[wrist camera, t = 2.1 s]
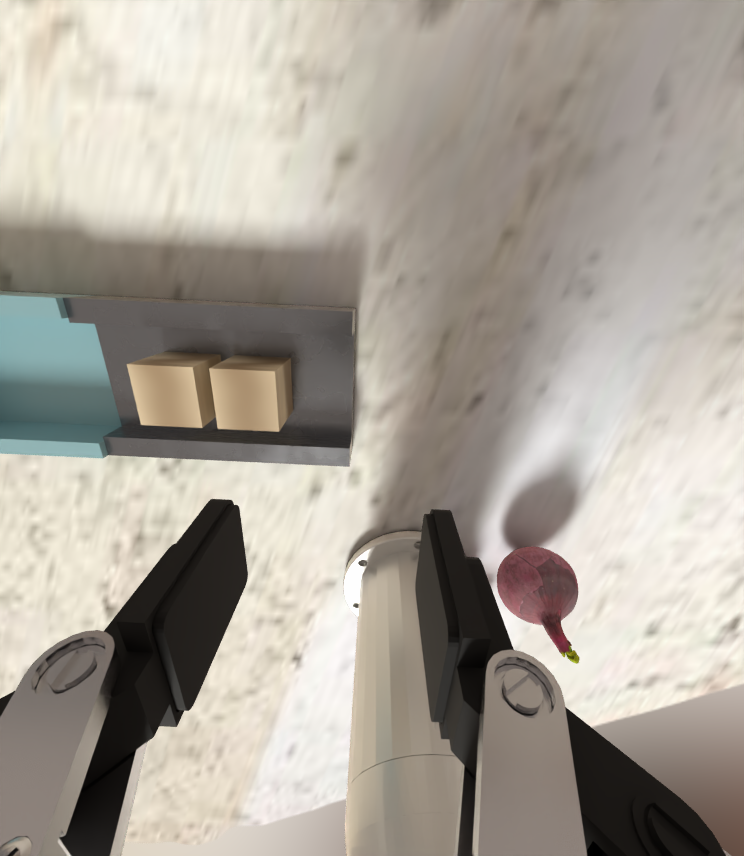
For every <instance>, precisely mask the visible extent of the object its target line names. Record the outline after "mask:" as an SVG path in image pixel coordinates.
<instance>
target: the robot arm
mask: <svg viewBox="0 0 744 856" xmlns="http://www.w3.org/2000/svg"><path fill="white" fill-rule="evenodd" d="M247 577H248V571H247V564H246V556H245V548H244V541H243V533H242V525H241V518H240V510H239V507H238V505H234V504H233V501H232V500H222V499H211V500H210V501H209V502H208V503H207V504H206V506H205V507H204V508H203V510H202V511H201V512H200V513H199V515H198V516H197V517H196V519H195V520H194V521H193V523H192V524H191V525H190V526H189V528H188V529H187V530H186V532H185V533H184V534H183V536H182V537H181V538H180V539H179V541H178V542H177V543H176V544H174V545H172V546H171V547H170V548H169V549H168V550H167V551H166V553H165V554H164V555H163V556H162V558H161V559H160V560H159V562H158V563H157V564H156V565H155V567H154V568H153V569H152V570H151V572H150V573H149V574H148V576H147V577H146V578H145V579H144V581H143V582H142V583H141V585H140V586H139V587H138V588H137V590H136V591H135V592H134V593H133V595H132V596H131V597H130V599H129V600H128V601H127V602H126V604H125V605H124V606H123V607H122V609H121V610H120V611H119V613H118V614H117V615H116V616H115V618H114V619H113V620H112V622H111V623H110V624H109V625H108V627H107V628H106V629H105V630H104V632H103V631H99V630H95V631H85V632H82V633H79V634H76V635H72V636H70V637H68V638H66V639H64V640H62V641H60V642H58V643H57V644H56V645H54V646H53V647H51V648H50V649H48V650H47V651H45V652H44V653H43V654H42V655H41V656H40V657H39V658H38V659H37V660H36V661H35V662H34V663H33V664H32V665H31V667H30V668H29V669H28V671H27V672H26V674H25V675H24V677H23V678H22V680H21V682H20V684H19V685H18V687H17V689H16V691H14V692H12V693H10V694H8V695H6V696H5V697H3V698H1V699H0V856H121V854H122V850H123V846H124V841H125V837H126V833H127V828H128V824H129V820H130V815H131V811H132V806H133V802H134V798H135V793H136V789H137V785H138V780H139V776H140V772H141V767H142V763H143V759H144V754H145V750H146V745H147V742H148V741H149V740H150V739H152V738H153V737H154V735H155V733H156V731H157V729H158V727H159V726H170V727H177V725H178V723H179V721H180V719H181V716H182V714H183V712H184V710H186V711H189V710H190V709H191V708H192V706H193V704H194V702H195V700H196V698H197V696H198V693H199V691H200V689H201V686H202V684H203V682H204V680H205V677H206V675H207V673H208V670H209V668H210V666H211V664H212V661H213V659H214V657H215V654H216V652H217V650H218V647H219V645H220V643H221V641H222V638H223V636H224V634H225V631H226V629H227V627H228V625H229V622H230V620H231V618H232V615H233V613H234V611H235V609H236V606H237V604H238V602H239V599H240V597H241V595H242V592H243V590H244V588H245V585H246V582H247ZM344 595H345V598H346V601H347V603H348V605H349V607H350V608H351V610H352V611H353V612H354V613H355V614H356V615H357V616H358V622H357V638H356V655H355V671H354V687H353V703H352V719H351V736H350V752H349V768H348V784H347V798H346V814H345V846H346V856H731V855H730V854H728V853H727V852H725V851H724V850H723V849H722V848H721V846H720V844H719V843H718V841H717V839H716V838H715V836H714V835H713V833H712V831H711V830H710V829H709V828H708V827H707V825H706V824H705V823H704V822H703V820H702V819H701V818H700V817H699V816H698V814H697V813H696V812H694V810H692V809H691V808H690V807H689V806H688V805H687V804H686V803H685V802H684V801H683V800H681V798H679V797H678V796H677V795H676V794H674V793H673V792H672V791H671V790H669V789H668V788H667V787H666V786H664V785H663V784H662V783H661V782H659V781H658V780H656V779H655V778H654V777H653V776H652V775H650V774H649V773H648V772H646V771H645V770H644V769H643V768H642V767H640V766H639V765H638V764H637V763H635V762H634V761H633V760H631V759H630V758H629V757H628V756H626V755H625V754H624V753H623V752H621V751H620V750H619V749H618V748H616V747H615V746H614V745H613V744H611V743H610V742H609V741H607V740H606V739H605V738H604V737H602V736H601V735H600V734H599V733H597V732H596V731H595V730H594V729H592V728H591V727H590V726H589V725H587V724H586V723H585V722H584V721H582V720H581V719H580V718H578V717H577V716H576V715H575V714H573V713H572V712H571V711H570V710H568V709H567V708H566V707H565V703H564V698H563V695H562V691H561V688H560V686H559V684H558V683H557V681H556V679H555V677H554V676H553V675H552V673H551V672H550V671H549V670H548V669H547V668H546V667H545V666H544V665H543V664H542V663H541V662H539V661H538V660H537V659H535V658H534V657H532V656H530V655H528V654H526V653H524V652H521V651H515V650H514V649H513V647H512V644H511V641H510V639H509V636H508V633H507V630H506V628H505V625H504V622H503V619H502V617H501V614H500V611H499V608H498V606H497V603H496V600H495V597H494V595H493V592H492V589H491V587H490V584H489V581H488V578H487V576H486V573H485V570H484V567H483V565H482V562H481V560H480V559H479V558H474V557H466V556H465V554H464V551H463V547H462V544H461V541H460V538H459V535H458V532H457V528H456V525H455V522H454V519H453V516H452V513H451V511H450V510H433V509H432V510H431V512H430V514H424V518H423V525H422V532H418V531H402V532H394V533H390V534H386V535H383V536H380V537H378V538H376V539H373V540H371V541H370V542H368V543H367V544H365V545H364V546H362V547H361V548H360V549H359V550H358V551H357V552H356V553H355V554H354V555H353V557H352V558H351V559H350V561H349V562H348V565H347V568H346V570H345V576H344Z"/></svg>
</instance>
